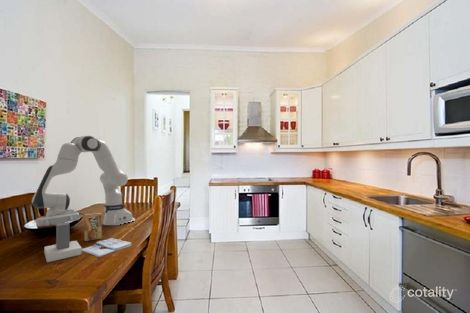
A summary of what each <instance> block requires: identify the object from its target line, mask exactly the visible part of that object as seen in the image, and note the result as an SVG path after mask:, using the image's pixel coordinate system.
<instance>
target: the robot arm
mask: <svg viewBox="0 0 470 313" xmlns="http://www.w3.org/2000/svg"><path fill="white" fill-rule="evenodd" d="M81 153H92V154H93V157H94V159H95V161H96V163H97V165H98V167H99V169H100V170H101V171H102V173H101V174H100V176H99V180H100V182H101V184H102V186H103V190H104V196H105V198H104V199H105V202H104V203H105V204H104V218H103V222H102V225H103V226H120V224H121V225H125V224H124V223H126V224H129V223H128V222H130V223H133V222H132V221H134V222H136V221H135V220H136V218H135V217H133V213H132V212H131V211H130V210H128V209H127V208H126V207H127V206H128V205H127V204H126V203H123V202H122V201H123V198H122V197H123V193H122V192H121V190H120V188H119V187H123V186H125V185H126V184H127V183H128V180H129V178H128V175H127V174H126V173H125V172H123V170H122V169H121V168H120V166H119V165H118V164H117V162H116V160H115V159H114V156H113V154H112V152H111V150H110V147H108V144H107V143H106V142H105V141H104V140H99V139H98V138H96V137H95V136H92V135H82V136H77V137H75V138H73V139H72V140H71V141H70V142H65V143H63V144H62V145H61V147H60V149H59V151H58V154H57V158H56V161H55V163H53V165H49V166H48V168H47V169H46V171H45V173H44V175H43V177H42V179H41V182H40V183H39V185H38V187H37V189H36V192H35V193H34V195H33V196H32V198H31V205H32V206H33V207H34V208H35V209H47V210H46V215H45V216H41V217H37V218H36V219H35V220H34V223H35V224H36V227H43V226H52V225H54V226H56V224H58V223H65V222H68V223H71V222H73V221H79V220H80V212H78V211H75V209H69V207H70V202H71V199H70V196H69V194H68V193H67V192H55V191H53V192H52V191H48V190H47V189H48V187H49V184H50V182H51V180H52V178H54V177H57V176H60V175H64V174H66V175H67V174H69V173H72V172H73V171H75V169H76V168H77V165H78V161H79V156H80V154H81Z"/></svg>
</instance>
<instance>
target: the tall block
mask: <svg viewBox="0 0 470 313" xmlns="http://www.w3.org/2000/svg"><path fill="white" fill-rule="evenodd" d="M55 226H56V227H55V228H56V231H55V233H56V239H55V245H56V248H57V250H59V249H64V248H69V247H70V242H71V241H70V237H71V236H70V233H71V232H70V230H71V228H70V227H71V226H70V222H69V221H68V222H64V223H58V224H56V225H55Z"/></svg>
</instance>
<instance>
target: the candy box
mask: <svg viewBox="0 0 470 313" xmlns="http://www.w3.org/2000/svg"><path fill="white" fill-rule="evenodd" d="M102 215H103V214H102V212H96V213H85V214H84V241H85V242H87V241H95V240H101V239H102V224H103V222H102Z"/></svg>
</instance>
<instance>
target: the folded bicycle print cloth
mask: <svg viewBox="0 0 470 313" xmlns="http://www.w3.org/2000/svg"><path fill="white" fill-rule="evenodd" d="M132 244H133V243H132V242H130V241H125V240H121V239H116V238H113V237H111V238H108V239H104V240H99V241H96V242H95V244H93V245H91V246H87V247H85V248H83V247H82V248H81V252H83V253H87V254H89V255H93V256H95V257H96V258H101V257H104V256H106V255H108V254H112V253H115V252H118V251H120V250H123V249H126V248H129V247H131V246H132V247H133V245H132ZM101 247H102V249H100V248H101Z"/></svg>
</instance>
